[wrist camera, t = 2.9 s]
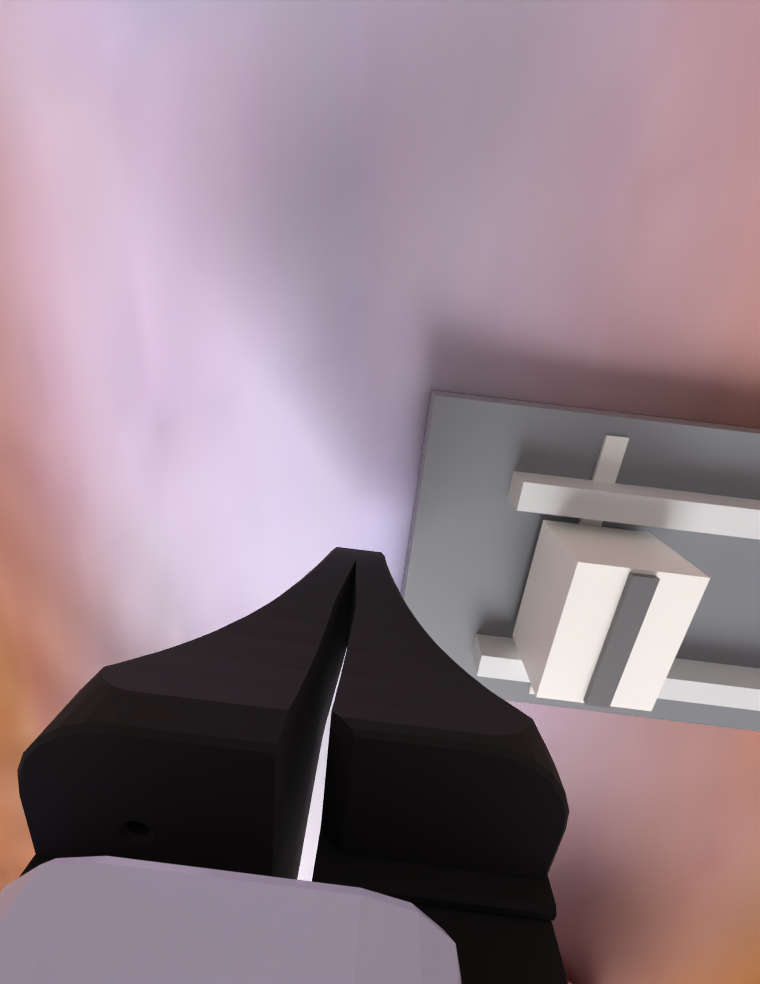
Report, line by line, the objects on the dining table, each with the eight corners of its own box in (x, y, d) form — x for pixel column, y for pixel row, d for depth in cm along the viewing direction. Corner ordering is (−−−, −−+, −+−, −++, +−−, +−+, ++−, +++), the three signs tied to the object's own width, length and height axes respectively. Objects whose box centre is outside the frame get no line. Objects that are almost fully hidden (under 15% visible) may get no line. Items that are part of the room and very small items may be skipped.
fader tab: (649, 532, 12) (715, 581, 9) (607, 647, 13) (654, 716, 10) (543, 519, 12) (581, 565, 9) (512, 635, 13) (538, 702, 10)
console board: (1031, 460, 12) (1182, 487, 10) (862, 713, 16) (943, 778, 13) (431, 389, 12) (438, 400, 10) (391, 655, 16) (390, 709, 13)
